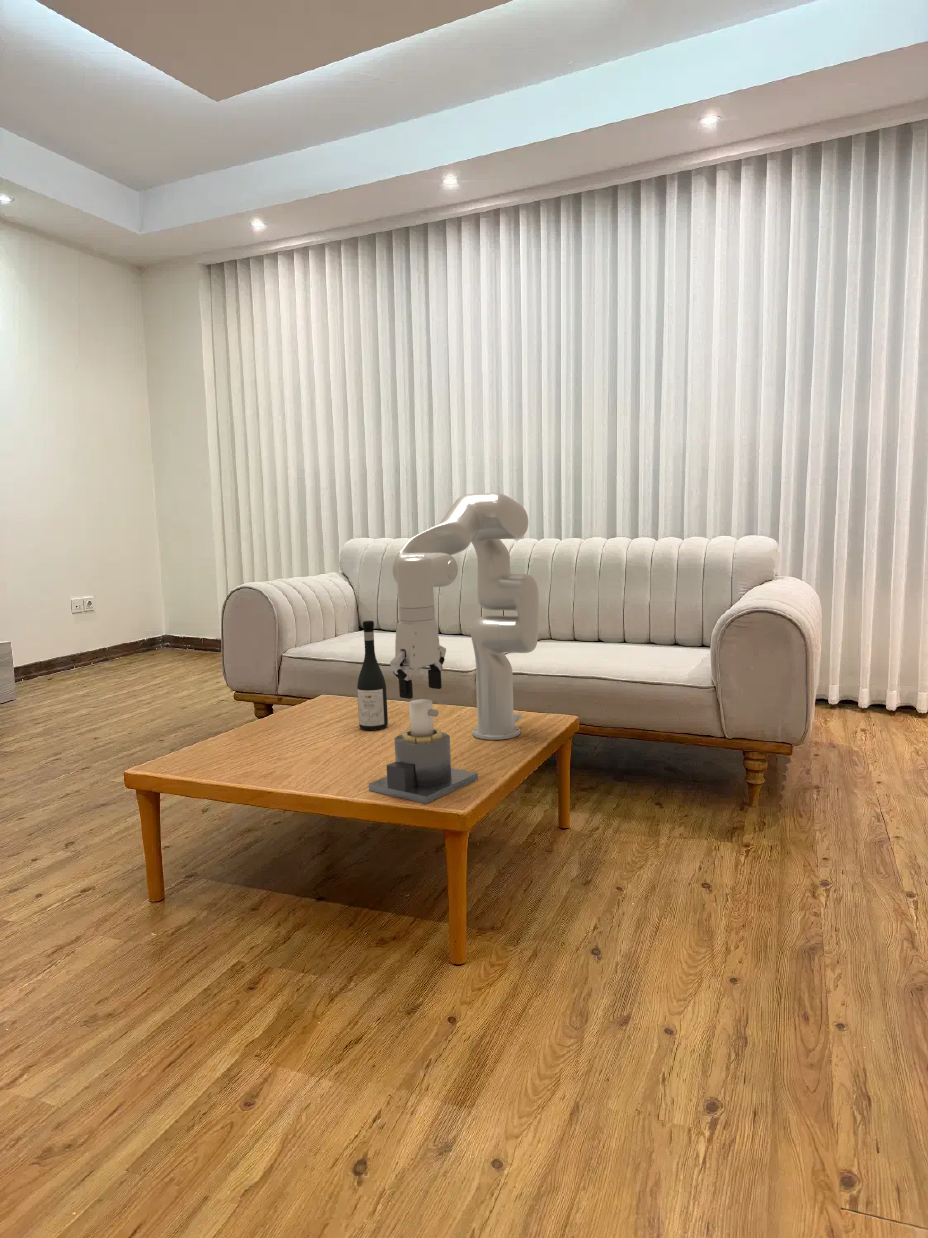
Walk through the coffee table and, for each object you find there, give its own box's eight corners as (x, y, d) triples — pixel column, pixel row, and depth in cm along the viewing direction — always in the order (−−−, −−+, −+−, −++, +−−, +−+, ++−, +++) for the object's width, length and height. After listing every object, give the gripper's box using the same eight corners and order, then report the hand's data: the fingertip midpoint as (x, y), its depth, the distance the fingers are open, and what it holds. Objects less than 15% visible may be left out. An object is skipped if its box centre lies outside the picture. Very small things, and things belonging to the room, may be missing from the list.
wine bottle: (383, 731, 229) (378, 622, 225) (355, 731, 230) (350, 623, 226) (391, 723, 237) (385, 618, 233) (363, 723, 238) (358, 619, 234)
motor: (422, 768, 195) (420, 719, 193) (478, 779, 185) (476, 728, 183) (369, 790, 180) (366, 737, 179) (426, 803, 171) (423, 748, 169)
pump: (420, 733, 185) (419, 698, 184) (444, 737, 181) (443, 701, 180) (406, 739, 181) (404, 703, 180) (430, 743, 177) (428, 706, 176)
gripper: (428, 608, 187) (432, 683, 190) (376, 619, 173) (381, 700, 176) (455, 609, 183) (459, 686, 185) (403, 621, 169) (408, 704, 171)
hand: (421, 693), depth 180 cm, fingers open, 9 cm apart
